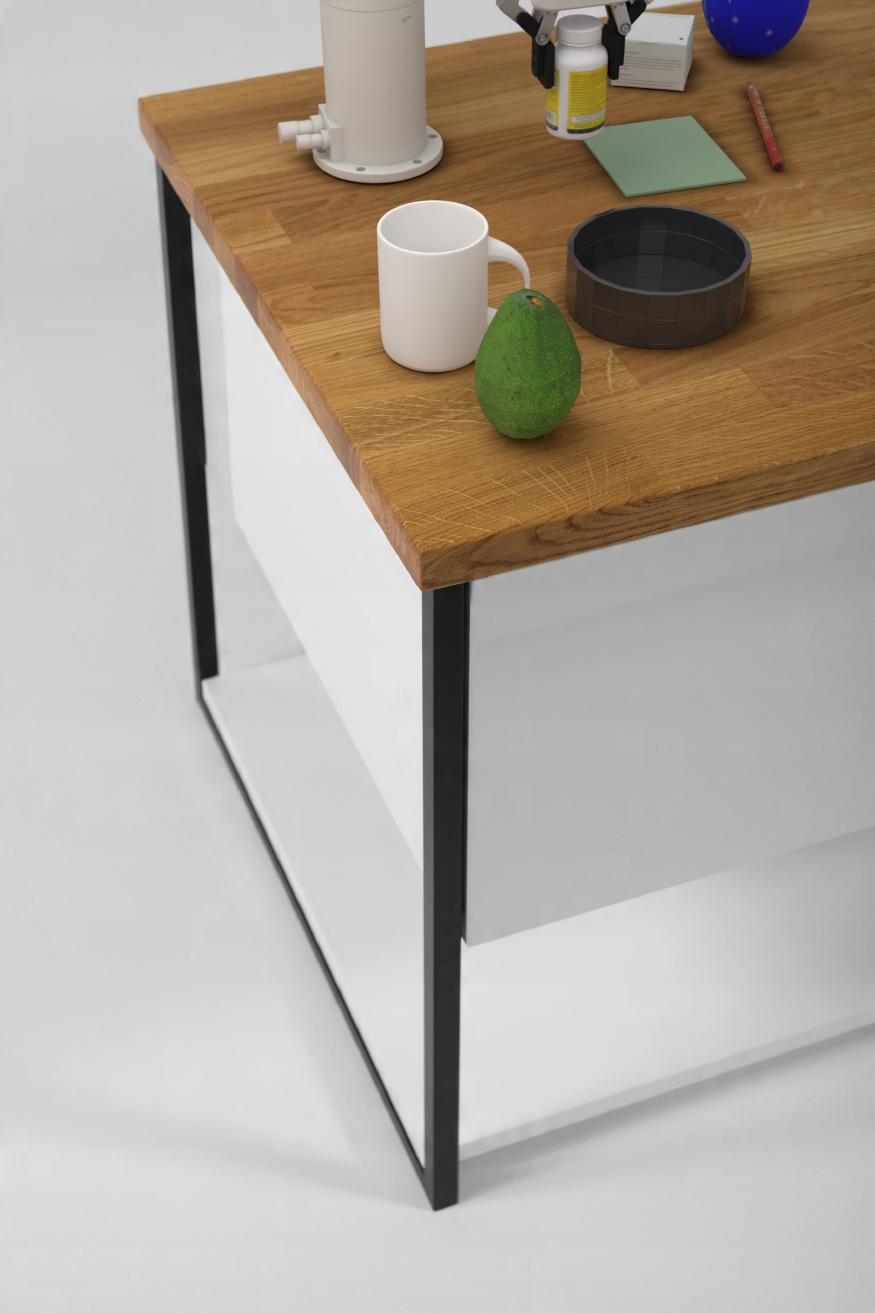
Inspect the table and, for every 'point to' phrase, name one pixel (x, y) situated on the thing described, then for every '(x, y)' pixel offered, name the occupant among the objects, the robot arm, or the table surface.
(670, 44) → the small box
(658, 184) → the cloth
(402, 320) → the mug
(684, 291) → the pan
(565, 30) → the supplement bottle
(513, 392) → the avocado
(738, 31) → the ornament
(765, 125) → the pencil
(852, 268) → the table surface
